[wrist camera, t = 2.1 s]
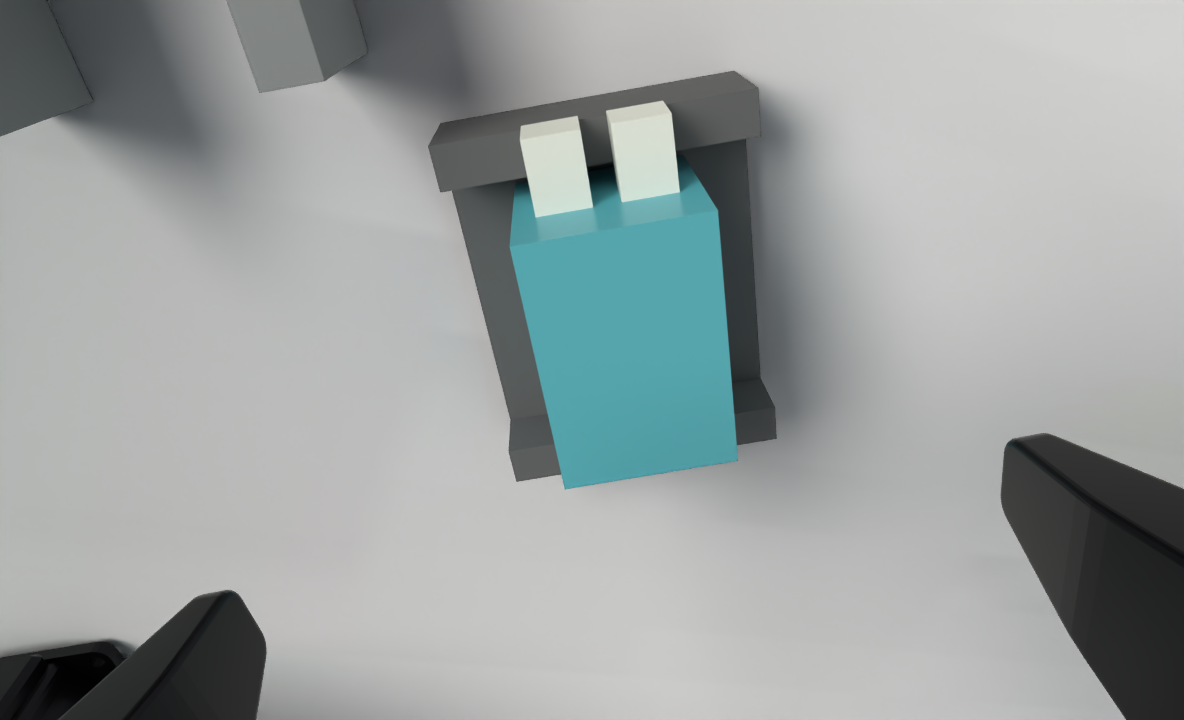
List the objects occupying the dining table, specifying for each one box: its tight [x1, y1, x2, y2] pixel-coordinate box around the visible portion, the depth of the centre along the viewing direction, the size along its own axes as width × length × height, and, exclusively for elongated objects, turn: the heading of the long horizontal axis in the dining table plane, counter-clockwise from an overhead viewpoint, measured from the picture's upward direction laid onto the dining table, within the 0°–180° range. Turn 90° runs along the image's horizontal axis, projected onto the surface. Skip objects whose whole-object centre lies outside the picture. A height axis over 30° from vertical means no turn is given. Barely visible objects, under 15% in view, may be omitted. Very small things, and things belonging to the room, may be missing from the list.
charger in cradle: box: [428, 71, 777, 482], centre depth 19 cm, size 9×7×2 cm
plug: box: [510, 101, 738, 489], centre depth 17 cm, size 8×4×4 cm, turn 9°
